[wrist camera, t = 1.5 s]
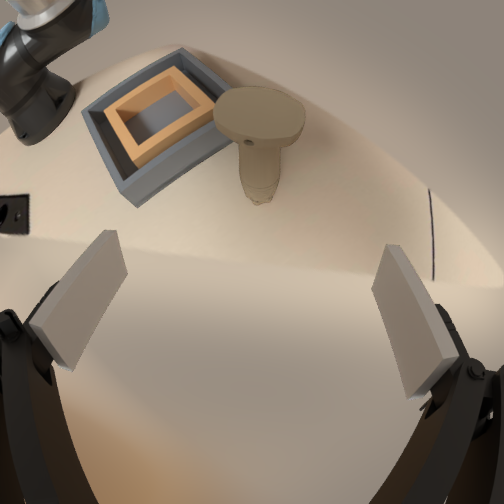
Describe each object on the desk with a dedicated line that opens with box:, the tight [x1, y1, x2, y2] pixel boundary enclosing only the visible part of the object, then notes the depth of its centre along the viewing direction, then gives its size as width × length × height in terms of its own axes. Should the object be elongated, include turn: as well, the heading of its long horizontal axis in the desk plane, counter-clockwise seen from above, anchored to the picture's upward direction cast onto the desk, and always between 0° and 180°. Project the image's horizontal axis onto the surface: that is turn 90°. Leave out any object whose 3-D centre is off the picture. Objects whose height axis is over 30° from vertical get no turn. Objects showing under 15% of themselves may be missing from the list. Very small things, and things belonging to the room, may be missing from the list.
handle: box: [213, 86, 305, 205], centre depth 25 cm, size 5×6×15 cm
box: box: [81, 48, 234, 208], centre depth 32 cm, size 18×18×5 cm
